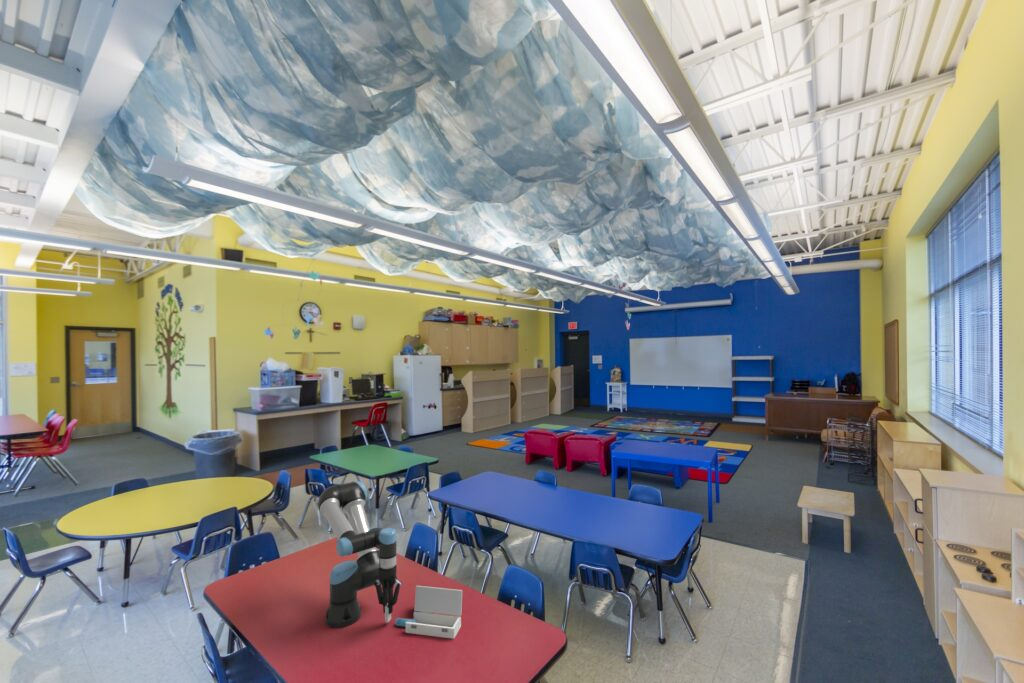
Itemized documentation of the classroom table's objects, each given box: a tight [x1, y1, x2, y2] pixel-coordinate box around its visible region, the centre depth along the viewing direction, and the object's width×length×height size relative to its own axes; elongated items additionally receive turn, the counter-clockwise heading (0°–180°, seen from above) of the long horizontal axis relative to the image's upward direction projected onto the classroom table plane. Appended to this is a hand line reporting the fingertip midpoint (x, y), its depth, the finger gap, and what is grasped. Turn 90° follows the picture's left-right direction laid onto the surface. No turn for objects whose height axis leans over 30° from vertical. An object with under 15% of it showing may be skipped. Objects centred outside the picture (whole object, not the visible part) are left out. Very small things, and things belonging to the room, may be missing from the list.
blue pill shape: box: [394, 617, 418, 628], centre depth 191 cm, size 10×3×3 cm, turn 78°
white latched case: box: [405, 611, 462, 640], centre depth 188 cm, size 22×10×4 cm, turn 78°
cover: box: [413, 585, 463, 617], centre depth 194 cm, size 22×10×1 cm
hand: (388, 620), depth 193 cm, fingers closed
